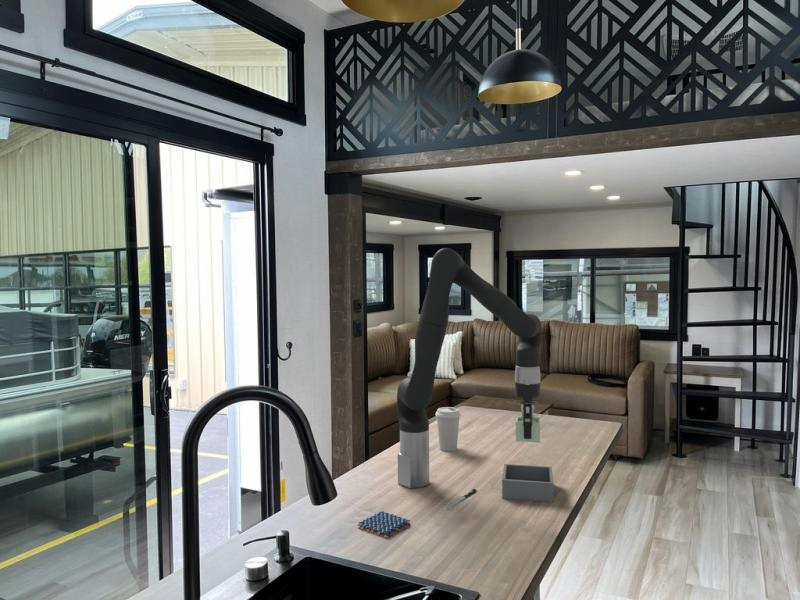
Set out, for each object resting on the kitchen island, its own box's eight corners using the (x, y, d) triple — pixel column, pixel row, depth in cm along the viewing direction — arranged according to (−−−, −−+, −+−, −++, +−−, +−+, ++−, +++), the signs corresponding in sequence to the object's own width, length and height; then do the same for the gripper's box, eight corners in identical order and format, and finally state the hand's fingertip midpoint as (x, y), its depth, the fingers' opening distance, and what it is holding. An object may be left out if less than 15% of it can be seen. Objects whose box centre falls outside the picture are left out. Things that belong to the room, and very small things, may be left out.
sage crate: (539, 442, 172) (539, 422, 171) (515, 441, 173) (515, 421, 173) (539, 436, 178) (539, 417, 177) (516, 435, 179) (516, 416, 179)
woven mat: (381, 516, 160) (381, 509, 160) (412, 526, 153) (411, 519, 153) (355, 529, 152) (355, 522, 152) (386, 541, 145) (386, 533, 145)
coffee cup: (461, 452, 214) (461, 412, 213) (436, 452, 214) (435, 412, 213) (459, 444, 223) (459, 406, 223) (435, 445, 224) (434, 406, 223)
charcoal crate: (553, 502, 167) (553, 483, 167) (502, 498, 170) (502, 479, 170) (551, 484, 181) (551, 466, 181) (504, 480, 185) (504, 463, 184)
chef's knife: (434, 512, 163) (443, 513, 161) (434, 507, 163) (443, 509, 161) (468, 490, 178) (477, 492, 176) (468, 486, 178) (477, 488, 176)
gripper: (515, 376, 182) (515, 428, 183) (514, 384, 168) (514, 441, 169) (539, 376, 181) (539, 429, 181) (540, 385, 167) (540, 443, 167)
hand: (527, 435), depth 175 cm, fingers closed on sage crate, 6 cm apart
